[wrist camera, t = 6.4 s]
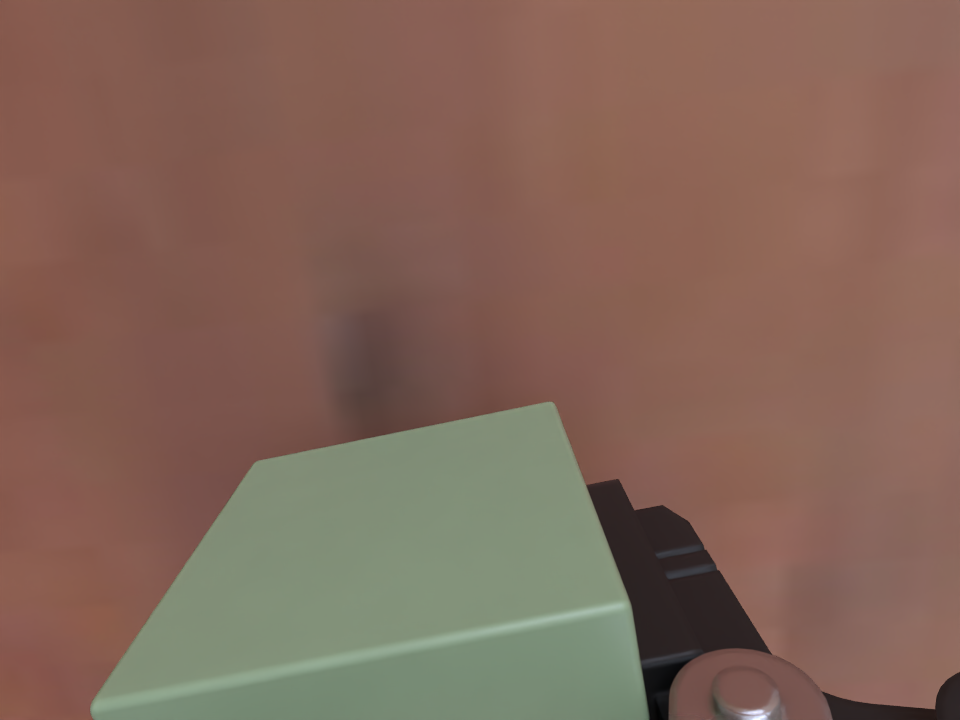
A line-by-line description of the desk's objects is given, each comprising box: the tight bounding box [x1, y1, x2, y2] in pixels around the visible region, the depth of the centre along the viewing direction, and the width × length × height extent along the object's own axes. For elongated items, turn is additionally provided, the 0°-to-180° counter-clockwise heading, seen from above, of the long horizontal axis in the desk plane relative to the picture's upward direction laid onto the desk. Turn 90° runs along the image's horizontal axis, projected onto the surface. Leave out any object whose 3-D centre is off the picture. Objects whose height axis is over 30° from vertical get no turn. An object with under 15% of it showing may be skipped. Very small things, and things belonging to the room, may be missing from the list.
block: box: [90, 402, 650, 720], centre depth 8 cm, size 4×4×4 cm
